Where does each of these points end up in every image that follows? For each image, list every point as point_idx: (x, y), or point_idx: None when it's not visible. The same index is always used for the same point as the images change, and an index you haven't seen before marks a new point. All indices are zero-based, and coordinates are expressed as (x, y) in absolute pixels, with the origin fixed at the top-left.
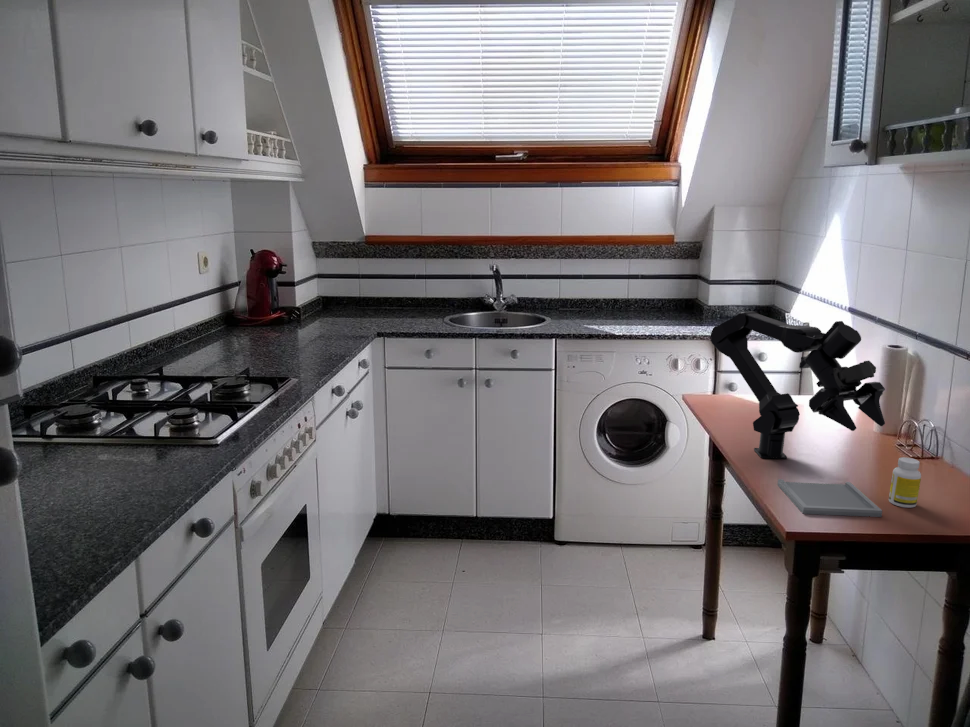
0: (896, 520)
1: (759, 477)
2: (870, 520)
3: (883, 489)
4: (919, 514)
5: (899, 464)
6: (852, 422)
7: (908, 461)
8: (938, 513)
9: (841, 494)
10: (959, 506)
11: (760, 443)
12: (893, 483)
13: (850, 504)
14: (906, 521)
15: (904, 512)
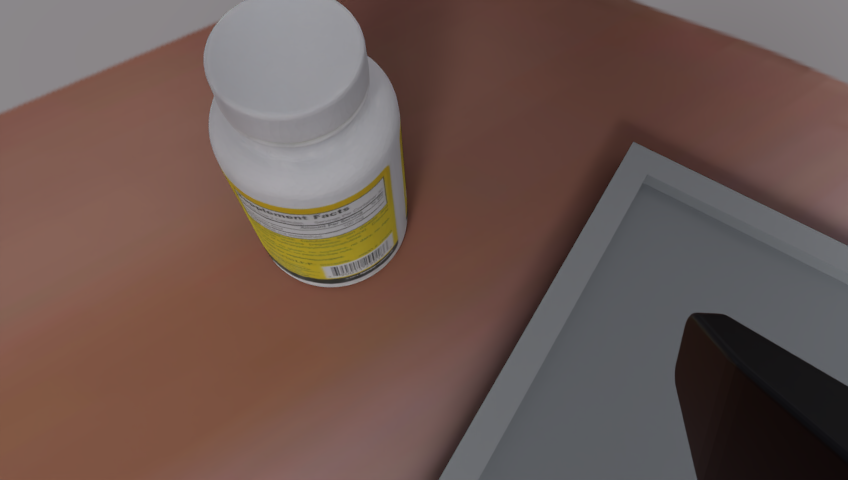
0: (582, 109)
1: None
2: (717, 161)
3: (204, 415)
4: None
5: (360, 100)
6: (772, 363)
7: (320, 35)
8: None
9: (627, 438)
10: (97, 80)
11: None
12: (392, 192)
13: (705, 300)
14: (544, 84)
15: (445, 148)
